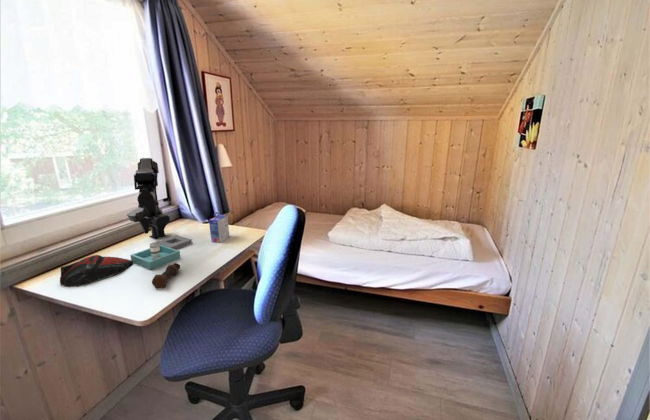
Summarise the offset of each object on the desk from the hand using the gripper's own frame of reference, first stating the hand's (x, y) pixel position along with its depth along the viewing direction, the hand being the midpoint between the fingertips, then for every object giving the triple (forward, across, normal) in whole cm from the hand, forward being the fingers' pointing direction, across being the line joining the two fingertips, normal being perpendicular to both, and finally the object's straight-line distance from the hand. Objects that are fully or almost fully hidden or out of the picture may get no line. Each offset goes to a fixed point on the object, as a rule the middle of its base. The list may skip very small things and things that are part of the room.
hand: (153, 235), depth 136 cm
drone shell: (+12, -8, -20) cm, 25 cm away
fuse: (+11, 0, 0) cm, 11 cm away
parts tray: (+12, 0, 0) cm, 12 cm away
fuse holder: (+12, -9, +15) cm, 21 cm away
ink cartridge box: (+12, +4, +33) cm, 35 cm away
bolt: (+12, +20, -7) cm, 24 cm away
